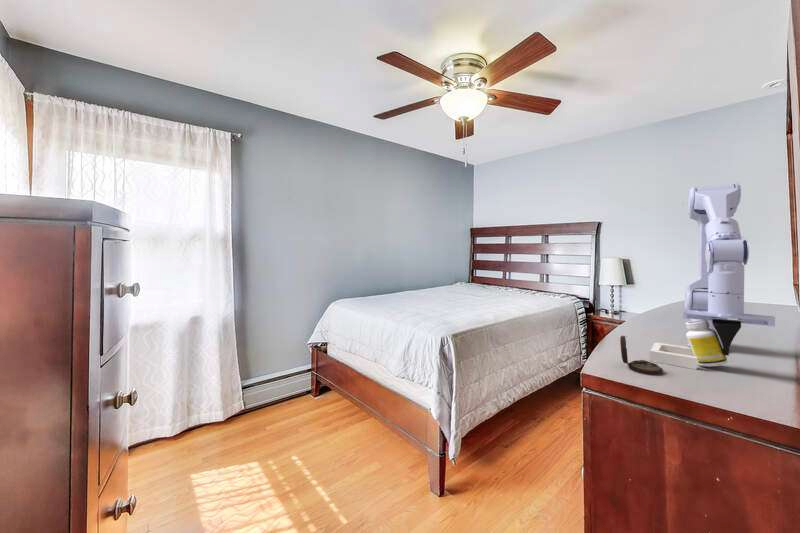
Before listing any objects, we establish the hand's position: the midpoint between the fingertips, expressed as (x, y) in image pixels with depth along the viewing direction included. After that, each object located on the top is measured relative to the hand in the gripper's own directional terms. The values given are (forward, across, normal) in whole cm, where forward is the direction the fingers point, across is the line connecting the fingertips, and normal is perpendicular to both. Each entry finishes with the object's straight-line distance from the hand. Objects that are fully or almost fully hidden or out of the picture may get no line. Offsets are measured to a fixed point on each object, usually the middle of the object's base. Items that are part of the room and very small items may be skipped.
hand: (724, 354), depth 73 cm
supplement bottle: (+3, -2, +1) cm, 4 cm away
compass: (+4, -14, -10) cm, 18 cm away
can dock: (+3, -8, +2) cm, 9 cm away
